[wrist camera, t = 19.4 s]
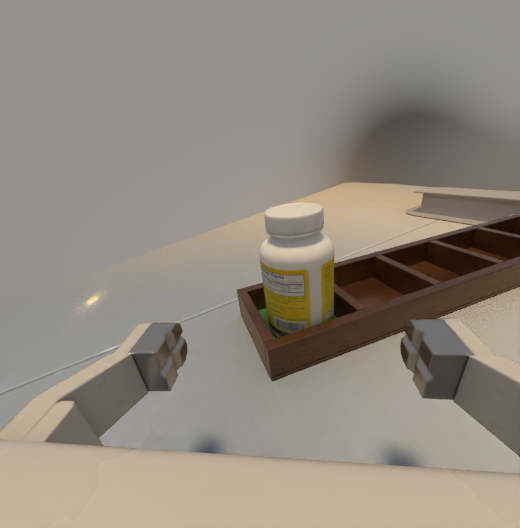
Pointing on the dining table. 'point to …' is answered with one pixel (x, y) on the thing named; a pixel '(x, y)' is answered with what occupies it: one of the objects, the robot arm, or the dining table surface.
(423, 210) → the grey hinged lid tray
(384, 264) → the rack
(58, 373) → the dining table surface
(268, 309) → the supplement bottle
